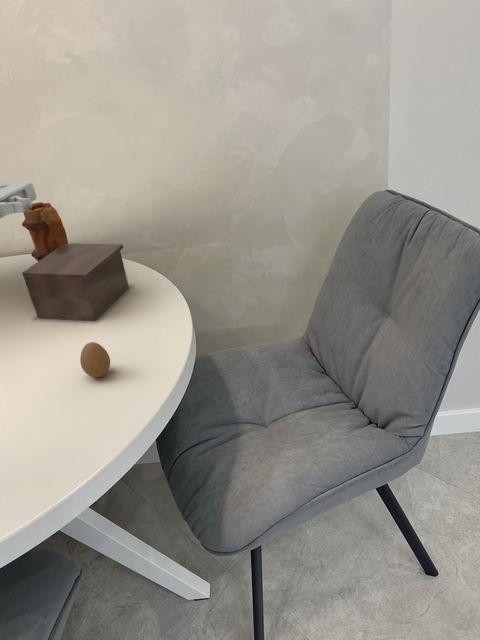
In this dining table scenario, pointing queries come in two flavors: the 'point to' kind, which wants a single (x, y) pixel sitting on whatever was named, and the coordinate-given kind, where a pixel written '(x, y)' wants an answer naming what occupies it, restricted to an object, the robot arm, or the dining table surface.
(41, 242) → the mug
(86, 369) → the egg
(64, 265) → the chest lid
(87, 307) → the chest
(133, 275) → the dining table surface
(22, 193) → the robot arm
